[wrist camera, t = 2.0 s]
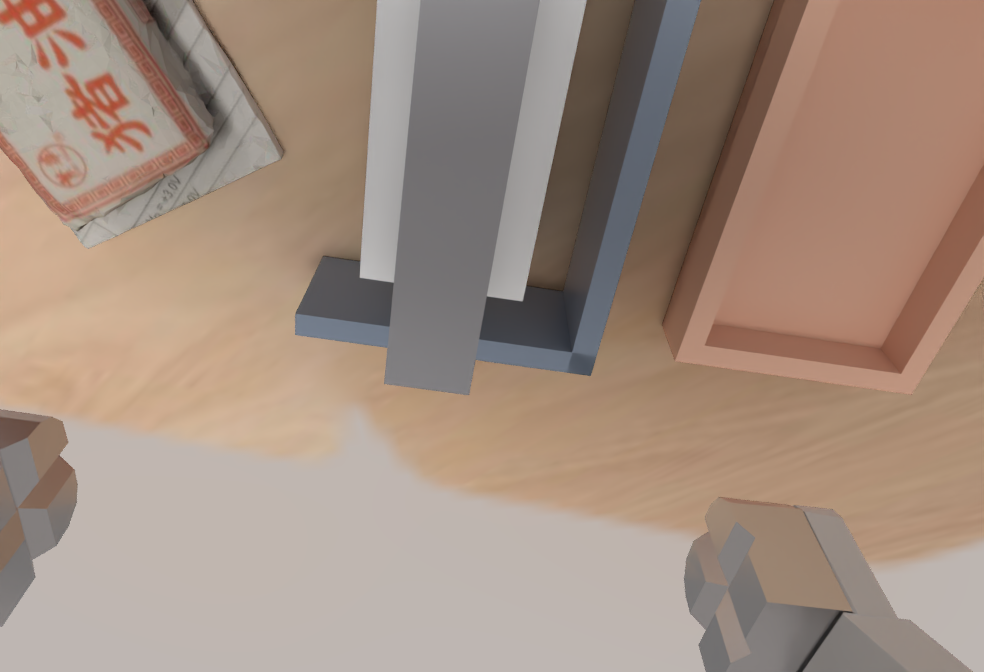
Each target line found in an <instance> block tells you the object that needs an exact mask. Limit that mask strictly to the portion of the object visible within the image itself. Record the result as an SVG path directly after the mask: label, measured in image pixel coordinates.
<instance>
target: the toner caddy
mask: <svg viewBox="0 0 984 672" xmlns="http://www.w3.org/2000/svg"><path fill="white" fill-rule="evenodd" d="M586 1H587V0H377V13H376V28H375V44H374V60H373V75H372V91H371V106H370V122H369V138H368V153H367V169H366V184H365V200H364V216H363V231H362V247H361V262H360V278H365V279H372V280H379V281H386V282H393V283H394V286H393V296H392V307H391V317H390V328H389V338H388V349H387V359H386V370H385V381H384V384H389V385H397V386H404V387H411V388H419V389H426V390H434V391H441V392H449V393H456V394H463V395H469V393H470V387H471V381H472V376H473V370H474V365H475V359H476V354H477V348H478V342H479V337H480V331H481V326H482V320H483V315H484V309H485V303H486V298H487V296H489V297H496V298H502V299H509V300H516V301H523V298H524V293H525V288H526V283H527V279H528V274H529V269H530V265H531V260H532V255H533V251H534V246H535V241H536V236H537V232H538V227H539V222H540V218H541V213H542V208H543V203H544V199H545V194H546V189H547V185H548V180H549V175H550V171H551V166H552V161H553V156H554V152H555V147H556V142H557V138H558V133H559V128H560V124H561V119H562V114H563V109H564V105H565V100H566V95H567V91H568V86H569V81H570V77H571V72H572V67H573V62H574V58H575V53H576V48H577V44H578V39H579V34H580V30H581V25H582V20H583V15H584V11H585V6H586Z"/></svg>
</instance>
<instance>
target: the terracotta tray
mask: <svg viewBox="0 0 984 672" xmlns="http://www.w3.org/2000/svg"><path fill="white" fill-rule="evenodd" d="M983 278H984V0H774V2H773V5H772V8H771V11H770V14H769V17H768V20H767V23H766V25H765V28H764V31H763V34H762V37H761V40H760V43H759V46H758V49H757V51H756V54H755V57H754V60H753V63H752V66H751V69H750V72H749V75H748V77H747V80H746V83H745V86H744V89H743V92H742V95H741V98H740V101H739V104H738V106H737V109H736V112H735V115H734V118H733V121H732V124H731V127H730V130H729V132H728V135H727V138H726V141H725V144H724V147H723V150H722V153H721V156H720V158H719V161H718V164H717V167H716V170H715V173H714V176H713V179H712V182H711V185H710V187H709V190H708V193H707V196H706V199H705V202H704V205H703V208H702V211H701V213H700V216H699V219H698V222H697V225H696V228H695V231H694V234H693V237H692V239H691V242H690V245H689V248H688V251H687V254H686V257H685V260H684V263H683V266H682V268H681V271H680V274H679V277H678V280H677V283H676V286H675V289H674V292H673V294H672V297H671V300H670V303H669V306H668V309H667V312H666V315H665V318H664V320H663V323H662V326H663V329H664V332H665V335H666V338H667V340H668V343H669V346H670V349H671V351H672V354H673V357H674V360H675V361H677V362H684V363H691V364H698V365H705V366H712V367H719V368H726V369H734V370H741V371H748V372H755V373H762V374H769V375H776V376H783V377H790V378H797V379H804V380H811V381H818V382H825V383H832V384H840V385H847V386H854V387H861V388H868V389H875V390H882V391H889V392H896V393H903V394H910V395H912V393H913V392H914V390H915V388H916V387H917V385H918V384H919V382H920V380H921V379H922V377H923V375H924V374H925V372H926V371H927V369H928V367H929V366H930V364H931V362H932V361H933V359H934V358H935V356H936V354H937V353H938V351H939V349H940V348H941V346H942V345H943V343H944V341H945V340H946V338H947V336H948V335H949V333H950V332H951V330H952V328H953V327H954V325H955V323H956V322H957V320H958V319H959V317H960V315H961V314H962V312H963V310H964V309H965V307H966V306H967V304H968V302H969V301H970V299H971V297H972V296H973V294H974V293H975V291H976V289H977V288H978V286H979V284H980V283H981V281H982V280H983Z"/></svg>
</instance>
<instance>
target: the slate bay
mask: <svg viewBox="0 0 984 672" xmlns="http://www.w3.org/2000/svg"><path fill="white" fill-rule="evenodd" d="M700 2H701V0H635V3H634V7H633V11H632V15H631V19H630V23H629V27H628V31H627V35H626V39H625V43H624V47H623V51H622V55H621V59H620V63H619V67H618V71H617V75H616V79H615V84H614V88H613V92H612V96H611V100H610V104H609V108H608V112H607V116H606V120H605V124H604V128H603V132H602V136H601V140H600V144H599V148H598V152H597V156H596V160H595V164H594V169H593V173H592V177H591V181H590V185H589V189H588V193H587V197H586V201H585V205H584V209H583V213H582V217H581V221H580V225H579V229H578V233H577V237H576V241H575V245H574V250H573V254H572V258H571V262H570V266H569V270H568V274H567V278H566V282H565V286H564V290H563V291H556V290H550V289H543V288H536V287H529V286H526V288H525V293H524V298H523V301H516V300H509V299H502V298H496V297H489V296H487V298H486V303H485V309H484V315H483V320H482V326H481V331H480V337H479V342H478V348H477V354H476V359H475V360H480V361H487V362H494V363H502V364H509V365H516V366H523V367H530V368H538V369H545V370H552V371H559V372H566V373H574V374H581V375H588V376H591V373H592V370H593V366H594V363H595V360H596V356H597V353H598V349H599V346H600V342H601V339H602V336H603V332H604V329H605V325H606V322H607V319H608V315H609V312H610V308H611V305H612V302H613V298H614V295H615V291H616V288H617V285H618V281H619V278H620V274H621V271H622V268H623V264H624V261H625V257H626V254H627V251H628V247H629V244H630V240H631V237H632V234H633V230H634V227H635V223H636V220H637V217H638V213H639V210H640V206H641V203H642V200H643V196H644V193H645V189H646V186H647V183H648V179H649V176H650V172H651V169H652V166H653V162H654V159H655V155H656V152H657V148H658V145H659V142H660V138H661V135H662V131H663V128H664V125H665V121H666V118H667V114H668V111H669V108H670V104H671V101H672V97H673V94H674V91H675V87H676V84H677V80H678V77H679V74H680V70H681V67H682V63H683V60H684V57H685V53H686V50H687V46H688V43H689V40H690V36H691V33H692V29H693V26H694V23H695V19H696V16H697V12H698V9H699V6H700ZM393 286H394V283H393V282H386V281H379V280H372V279H365V278H360V261H353V260H346V259H339V258H333V257H326V256H323V258H322V260H321V262H320V264H319V266H318V268H317V270H316V272H315V274H314V276H313V278H312V280H311V282H310V285H309V287H308V289H307V291H306V293H305V295H304V297H303V299H302V301H301V303H300V305H299V307H298V309H297V311H296V314H295V335H300V336H307V337H314V338H321V339H328V340H336V341H343V342H350V343H357V344H364V345H372V346H379V347H386V348H388V338H389V328H390V317H391V307H392V296H393Z"/></svg>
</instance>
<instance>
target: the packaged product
mask: <svg viewBox="0 0 984 672" xmlns="http://www.w3.org/2000/svg"><path fill="white" fill-rule="evenodd" d="M0 148H1V149H2V150H3V152H4V153H5V154H6V155H7V156H8V157H9V159H10V160H11V161H12V162H13V163H14V164H15V165H16V166H17V167H18V168H19V169H20V171H21V172H22V174H23V175H24V176H25V178H26V179H27V181H28V182H29V184H30V185H31V186H32V188H33V189H34V190H35V192H36V193H37V194H38V195H39V196H40V197H41V199H42V200H43V201H44V202H45V204H46V205H47V206H48V208H49V209H50V210H51V211H52V212H53V213H54V214H56V215H57V216H58V217H59V218H60V220H61V221H62V223H63V224H64V225H66V226H68V227H70V228H71V230H72V231H73V232H74V233H75V235H76V236H77V238H78V239H79V241H80V242H81V243H82V244H83V246H84V247H86V248H88V249H89V248H91V247H93V246H96V245H98V244H100V243H102V242H104V241H106V240H109V239H111V238H113V237H116V236H118V235H120V234H122V233H123V232H126V231H128V230H130V229H132V228H135V227H137V226H139V225H141V224H143V223H146V222H148V221H150V220H152V219H154V218H156V217H159V216H161V215H163V214H165V213H167V212H170V211H172V210H174V209H176V208H179V207H181V206H183V205H185V204H187V203H190V202H192V201H194V200H196V199H198V198H200V197H202V196H204V195H206V194H208V193H211V192H213V191H215V190H217V189H219V188H221V187H223V186H225V185H227V184H229V183H231V182H233V181H236V180H238V179H240V178H242V177H244V176H246V175H248V174H250V173H252V172H254V171H256V170H258V169H261V168H263V167H265V166H267V165H269V164H271V163H273V162H275V161H278V160H280V159H282V156H283V153H284V151H283V150H282V148H281V146H280V144H279V143H278V141H277V139H276V137H275V136H274V134H273V132H272V130H271V128H270V127H269V125H268V123H267V121H266V119H265V118H264V116H263V114H262V112H261V111H260V109H259V107H258V106H257V104H256V102H255V101H254V99H253V98H252V96H251V94H250V93H249V91H248V89H247V88H246V86H245V85H244V83H243V81H242V80H241V78H240V76H239V75H238V73H237V72H236V70H235V68H234V67H233V65H232V63H231V62H230V60H229V59H228V57H227V56H226V54H225V53H224V51H223V50H222V48H221V47H220V46H219V44H218V43H217V41H216V40H215V38H214V37H213V35H212V34H211V32H210V30H209V29H208V27H207V25H206V24H205V22H204V20H203V18H202V17H201V15H200V13H199V11H198V10H197V8H196V6H195V4H194V3H193V1H192V0H0Z"/></svg>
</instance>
